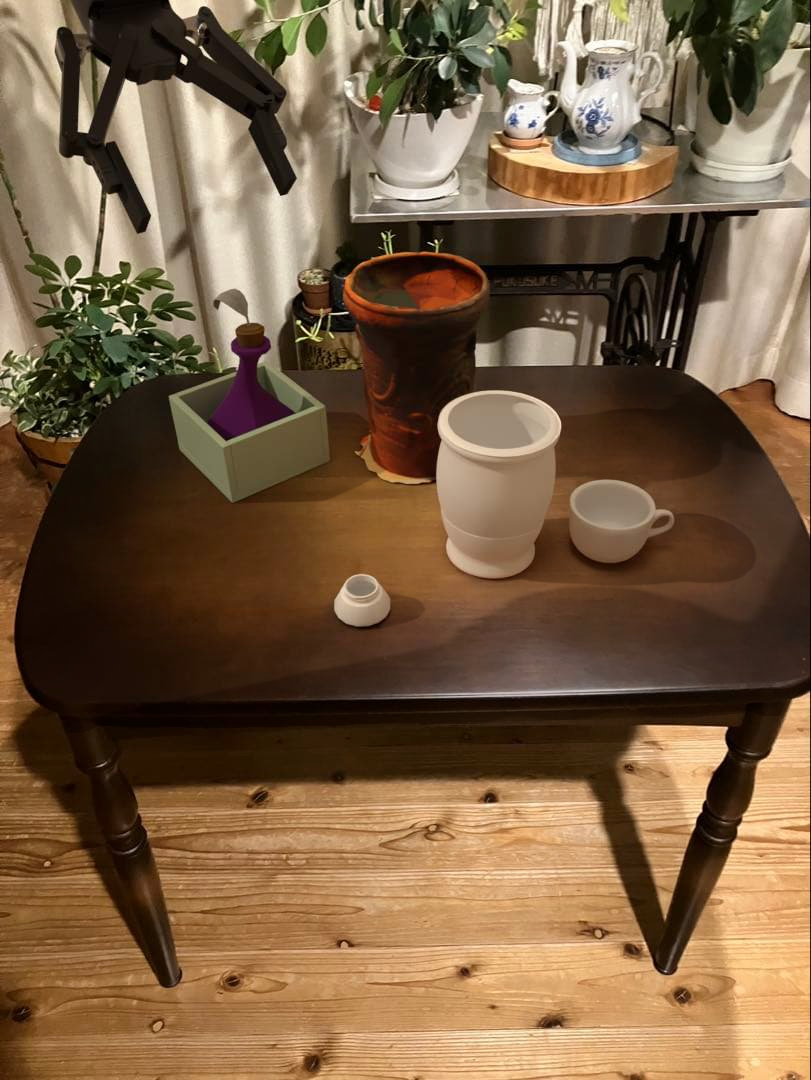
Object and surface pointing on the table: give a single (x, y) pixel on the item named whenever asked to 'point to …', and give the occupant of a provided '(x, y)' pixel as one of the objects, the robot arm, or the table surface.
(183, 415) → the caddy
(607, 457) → the table surface
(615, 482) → the teacup
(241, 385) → the perfume bottle
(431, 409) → the vessel
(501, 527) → the jar
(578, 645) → the table surface
